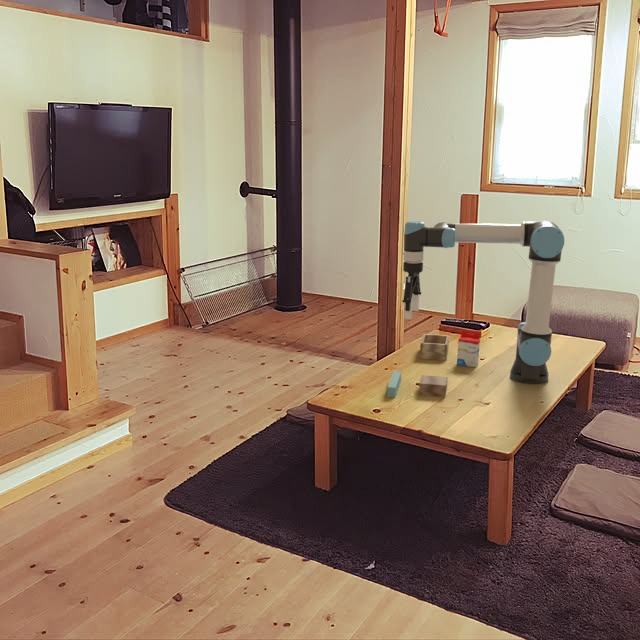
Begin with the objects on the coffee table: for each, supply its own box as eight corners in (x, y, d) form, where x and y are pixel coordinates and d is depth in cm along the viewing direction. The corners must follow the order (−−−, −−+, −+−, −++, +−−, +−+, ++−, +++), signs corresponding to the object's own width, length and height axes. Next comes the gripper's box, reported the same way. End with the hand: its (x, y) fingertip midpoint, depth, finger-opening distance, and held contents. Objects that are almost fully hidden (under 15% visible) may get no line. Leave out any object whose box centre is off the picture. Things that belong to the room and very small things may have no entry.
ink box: (456, 365, 336) (458, 332, 332) (459, 361, 340) (460, 329, 337) (476, 367, 333) (478, 334, 329) (478, 364, 337) (480, 331, 333)
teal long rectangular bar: (401, 380, 315) (401, 371, 314) (395, 397, 296) (395, 387, 295) (393, 380, 316) (393, 370, 315) (387, 397, 297) (387, 387, 296)
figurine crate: (448, 350, 357) (449, 335, 355) (446, 360, 342) (447, 344, 341) (422, 348, 359) (423, 333, 358) (419, 358, 345) (420, 343, 343)
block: (447, 389, 307) (447, 377, 305) (445, 397, 297) (445, 385, 296) (421, 387, 309) (421, 375, 307) (418, 395, 299) (419, 383, 298)
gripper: (410, 255, 317) (408, 306, 322) (396, 266, 294) (394, 321, 299) (429, 256, 314) (427, 308, 320) (416, 267, 291) (414, 323, 297)
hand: (411, 314), depth 309 cm, fingers open, 13 cm apart
